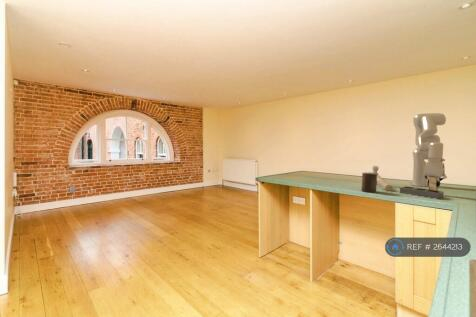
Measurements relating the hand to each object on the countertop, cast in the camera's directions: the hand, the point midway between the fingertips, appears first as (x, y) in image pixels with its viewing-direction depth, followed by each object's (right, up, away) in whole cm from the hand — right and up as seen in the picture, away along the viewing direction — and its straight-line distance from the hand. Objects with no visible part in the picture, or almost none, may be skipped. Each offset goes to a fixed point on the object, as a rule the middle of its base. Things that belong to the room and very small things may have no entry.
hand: (433, 185), depth 162 cm
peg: (0, -3, 0) cm, 3 cm away
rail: (-10, -6, -2) cm, 12 cm away
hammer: (-21, -4, +26) cm, 34 cm away
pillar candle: (-39, -5, +11) cm, 41 cm away
